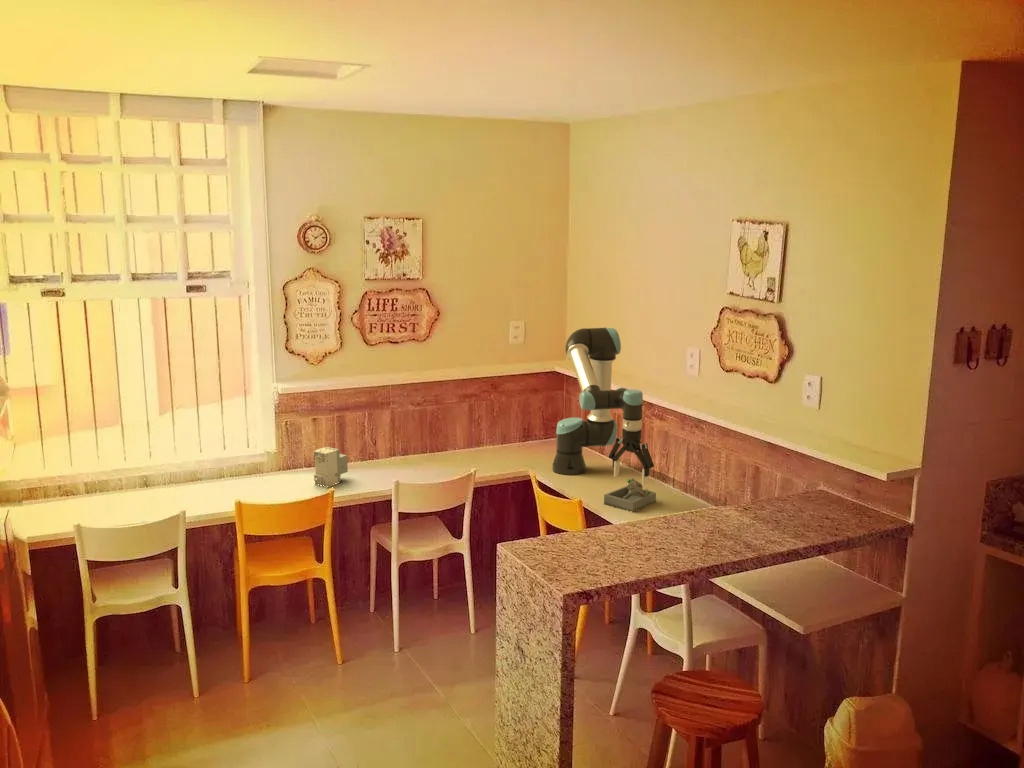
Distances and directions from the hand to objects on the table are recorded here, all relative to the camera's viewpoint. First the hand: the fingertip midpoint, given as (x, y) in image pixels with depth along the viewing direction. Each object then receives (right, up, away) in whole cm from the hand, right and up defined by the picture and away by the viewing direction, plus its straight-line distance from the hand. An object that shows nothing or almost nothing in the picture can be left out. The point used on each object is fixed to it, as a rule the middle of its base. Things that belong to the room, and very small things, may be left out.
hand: (630, 480), depth 356 cm
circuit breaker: (-125, -4, +29) cm, 128 cm away
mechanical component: (-2, -8, +3) cm, 9 cm away
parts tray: (0, -9, +2) cm, 10 cm away
